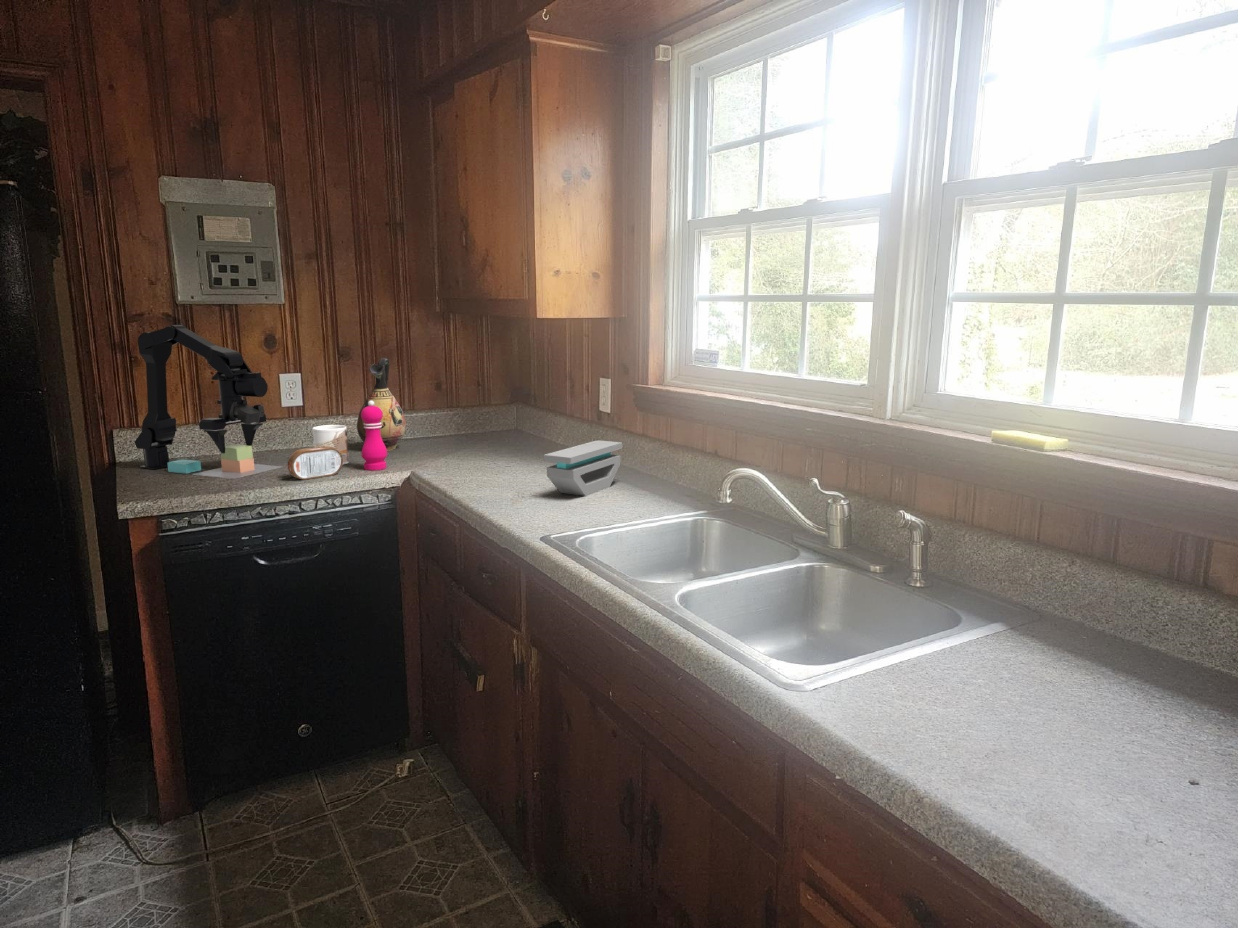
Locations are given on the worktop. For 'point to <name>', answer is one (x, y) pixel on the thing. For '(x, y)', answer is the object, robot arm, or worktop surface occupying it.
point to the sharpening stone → (584, 467)
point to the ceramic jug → (384, 408)
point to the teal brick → (184, 466)
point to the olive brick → (237, 452)
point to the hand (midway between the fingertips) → (236, 450)
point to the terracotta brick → (237, 465)
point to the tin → (315, 462)
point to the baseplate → (233, 475)
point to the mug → (332, 438)
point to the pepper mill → (373, 438)
